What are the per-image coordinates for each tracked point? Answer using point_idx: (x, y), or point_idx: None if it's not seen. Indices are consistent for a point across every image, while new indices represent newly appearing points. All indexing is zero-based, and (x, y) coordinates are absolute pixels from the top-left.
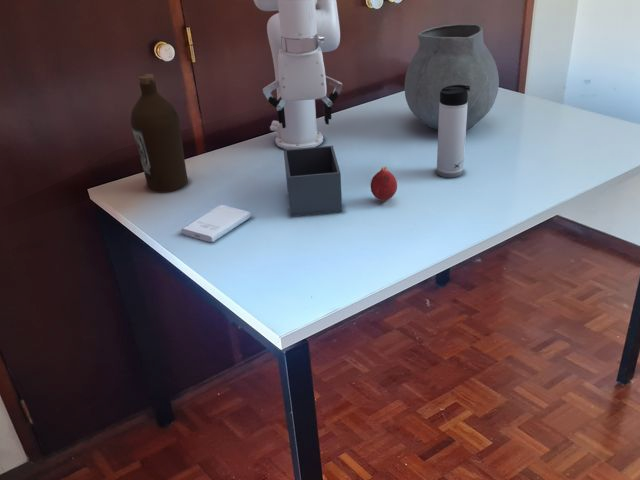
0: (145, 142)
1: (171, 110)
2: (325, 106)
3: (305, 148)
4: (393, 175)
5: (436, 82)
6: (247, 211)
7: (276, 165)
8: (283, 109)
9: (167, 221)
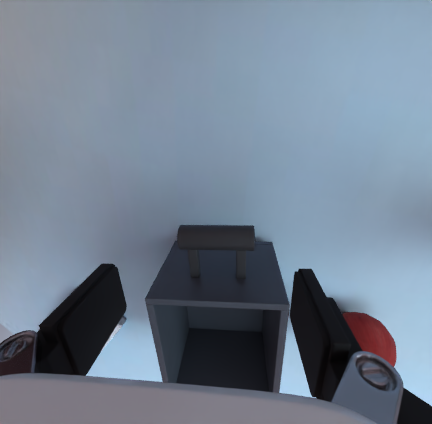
0: None
1: None
2: (321, 391)
3: (206, 305)
4: (395, 361)
5: None
6: (118, 325)
7: (145, 94)
8: (72, 363)
9: (11, 298)
